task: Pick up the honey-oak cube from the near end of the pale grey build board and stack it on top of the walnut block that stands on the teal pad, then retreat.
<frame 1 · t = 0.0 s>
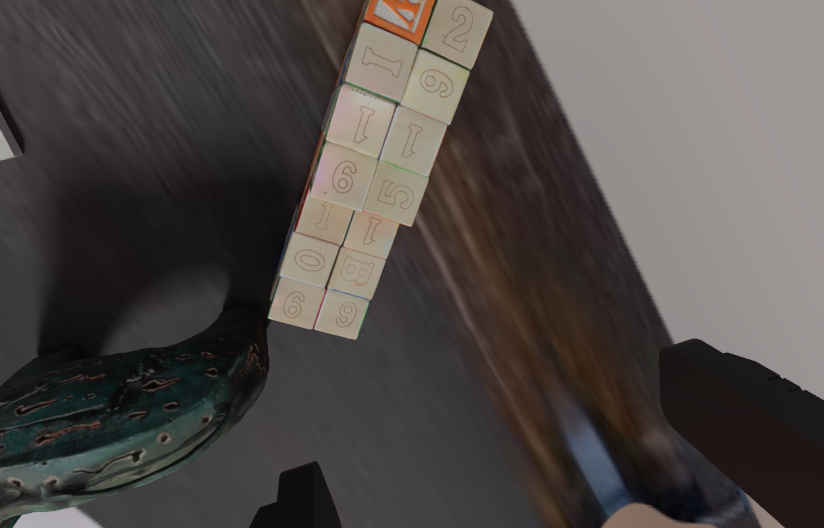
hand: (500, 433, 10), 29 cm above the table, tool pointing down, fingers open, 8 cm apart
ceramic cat: (150, 341, 38), on the table
stack of blocks: (352, 161, 37), on the table
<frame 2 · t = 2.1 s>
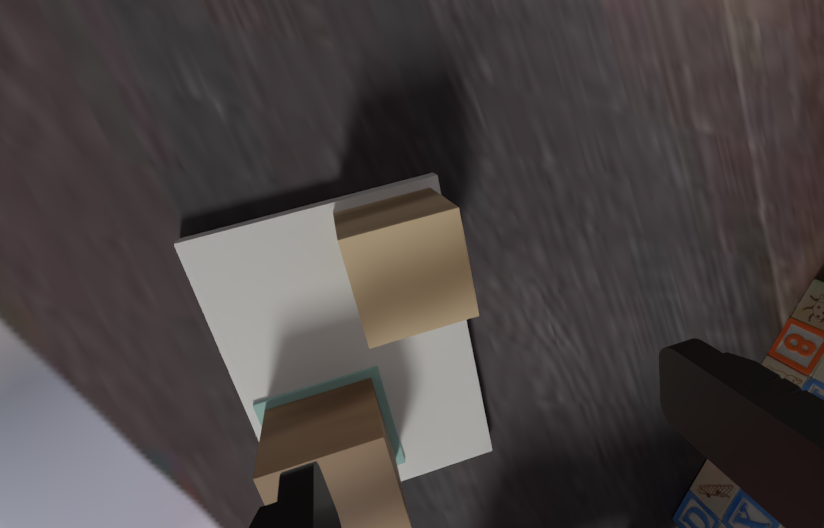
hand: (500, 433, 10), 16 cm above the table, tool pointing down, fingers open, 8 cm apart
build board: (356, 354, 26), on the table
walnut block: (333, 435, 26), point 1 cm above the table, touching build board
stack of blocks: (762, 410, 35), on the table
oak cube: (393, 246, 24), point 1 cm above the table, touching build board
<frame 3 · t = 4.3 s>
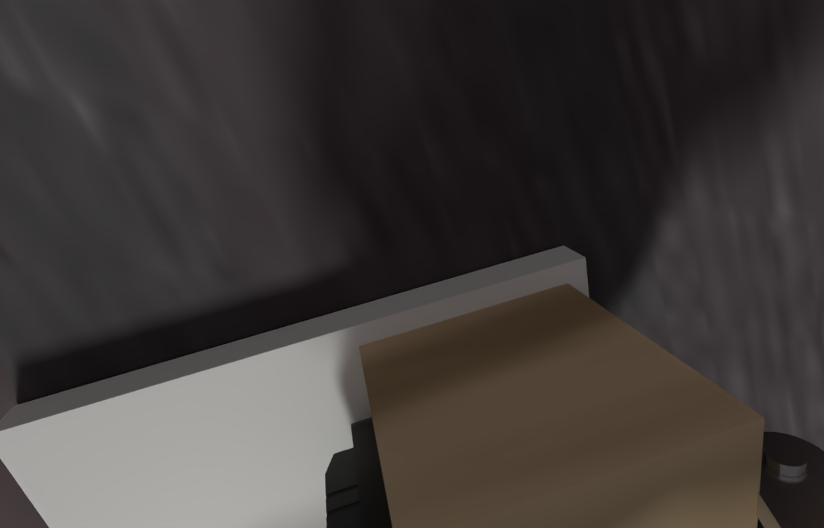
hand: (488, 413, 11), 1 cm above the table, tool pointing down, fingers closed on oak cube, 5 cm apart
oak cube: (484, 402, 11), point 1 cm above the table, touching build board, gripper
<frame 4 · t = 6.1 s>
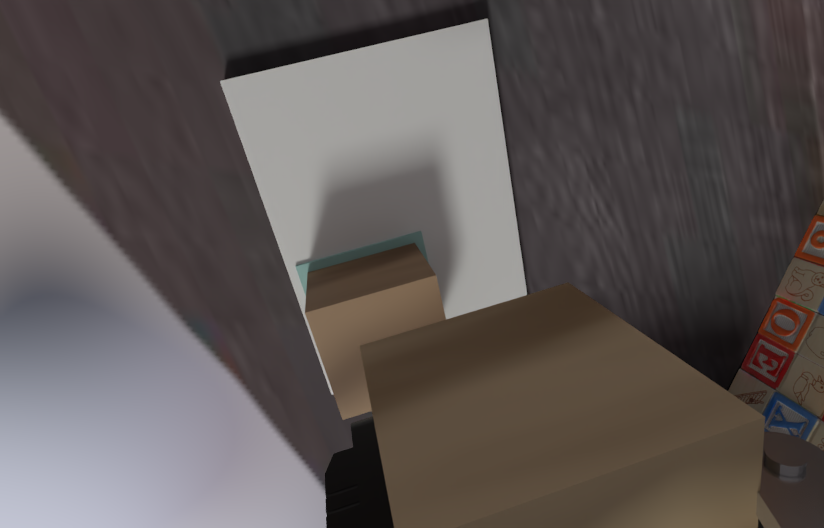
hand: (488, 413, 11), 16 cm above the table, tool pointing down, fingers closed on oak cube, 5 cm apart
build board: (398, 222, 26), on the table
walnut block: (375, 305, 26), point 1 cm above the table, touching build board
stack of blocks: (792, 317, 34), on the table
oak cube: (484, 402, 11), point 16 cm above the table, touching gripper
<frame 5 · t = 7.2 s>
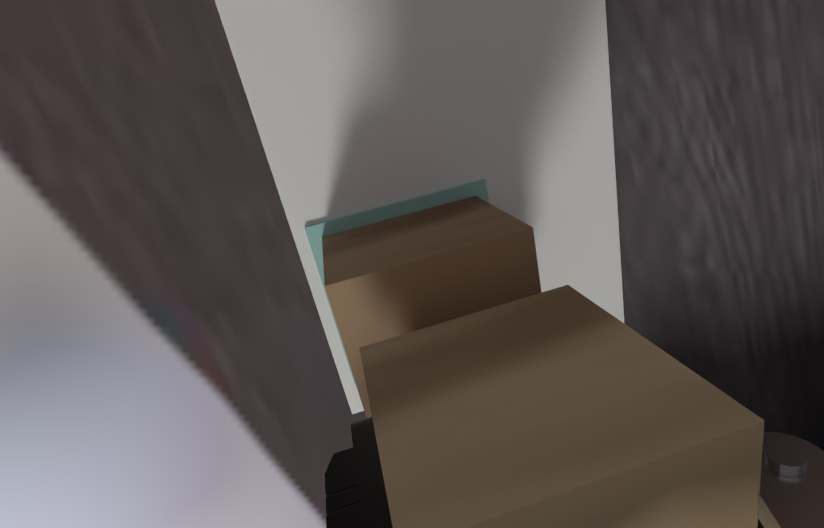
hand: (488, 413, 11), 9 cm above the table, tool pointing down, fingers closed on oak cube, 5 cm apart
build board: (449, 169, 18), on the table
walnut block: (417, 287, 18), point 1 cm above the table, touching build board
oak cube: (484, 404, 11), point 9 cm above the table, touching gripper
when the fingers open (8 cm above the table, at t = 8.0 s): oak cube stays where it is, resting on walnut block.
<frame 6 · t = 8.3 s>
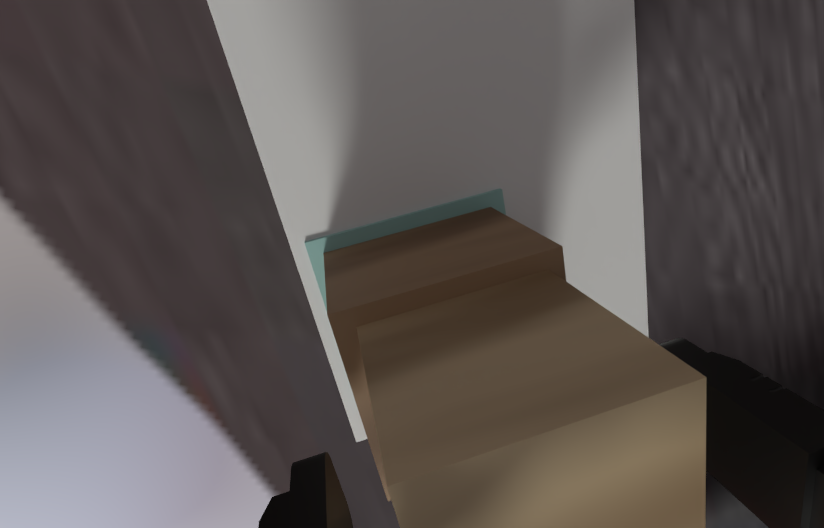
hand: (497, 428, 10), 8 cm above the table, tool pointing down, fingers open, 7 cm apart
build board: (462, 177, 17), on the table
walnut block: (426, 306, 17), point 1 cm above the table, touching build board, oak cube
oak cube: (472, 380, 12), point 6 cm above the table, touching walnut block
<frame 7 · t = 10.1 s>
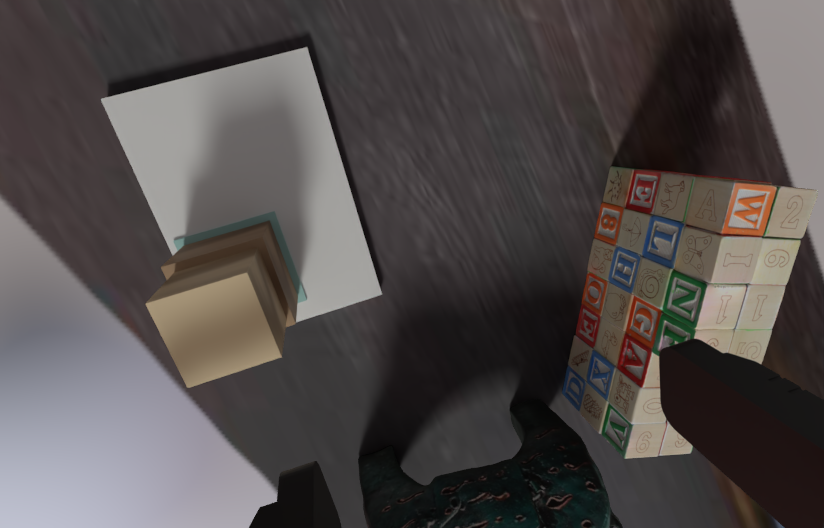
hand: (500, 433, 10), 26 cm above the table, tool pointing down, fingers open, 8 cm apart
build board: (259, 205, 33), on the table
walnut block: (243, 272, 33), point 1 cm above the table, touching build board, oak cube
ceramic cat: (447, 436, 42), on the table
stack of blocks: (611, 286, 41), on the table
oak cube: (232, 296, 28), point 6 cm above the table, touching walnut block
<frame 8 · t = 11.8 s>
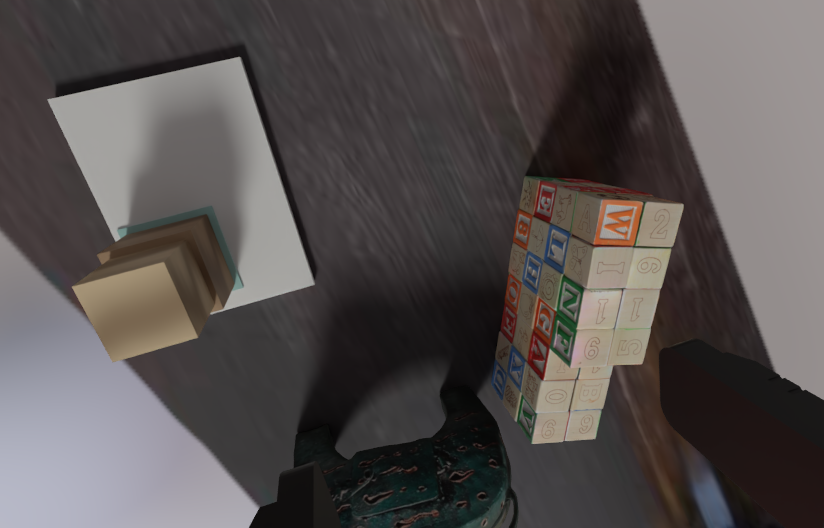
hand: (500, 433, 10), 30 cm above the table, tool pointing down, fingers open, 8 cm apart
build board: (199, 200, 36), on the table
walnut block: (182, 260, 36), point 1 cm above the table, touching build board, oak cube
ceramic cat: (381, 417, 46), on the table
stack of blocks: (534, 285, 45), on the table
oak cube: (164, 282, 31), point 6 cm above the table, touching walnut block
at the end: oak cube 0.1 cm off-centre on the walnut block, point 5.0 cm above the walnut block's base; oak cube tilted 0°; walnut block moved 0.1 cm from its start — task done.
